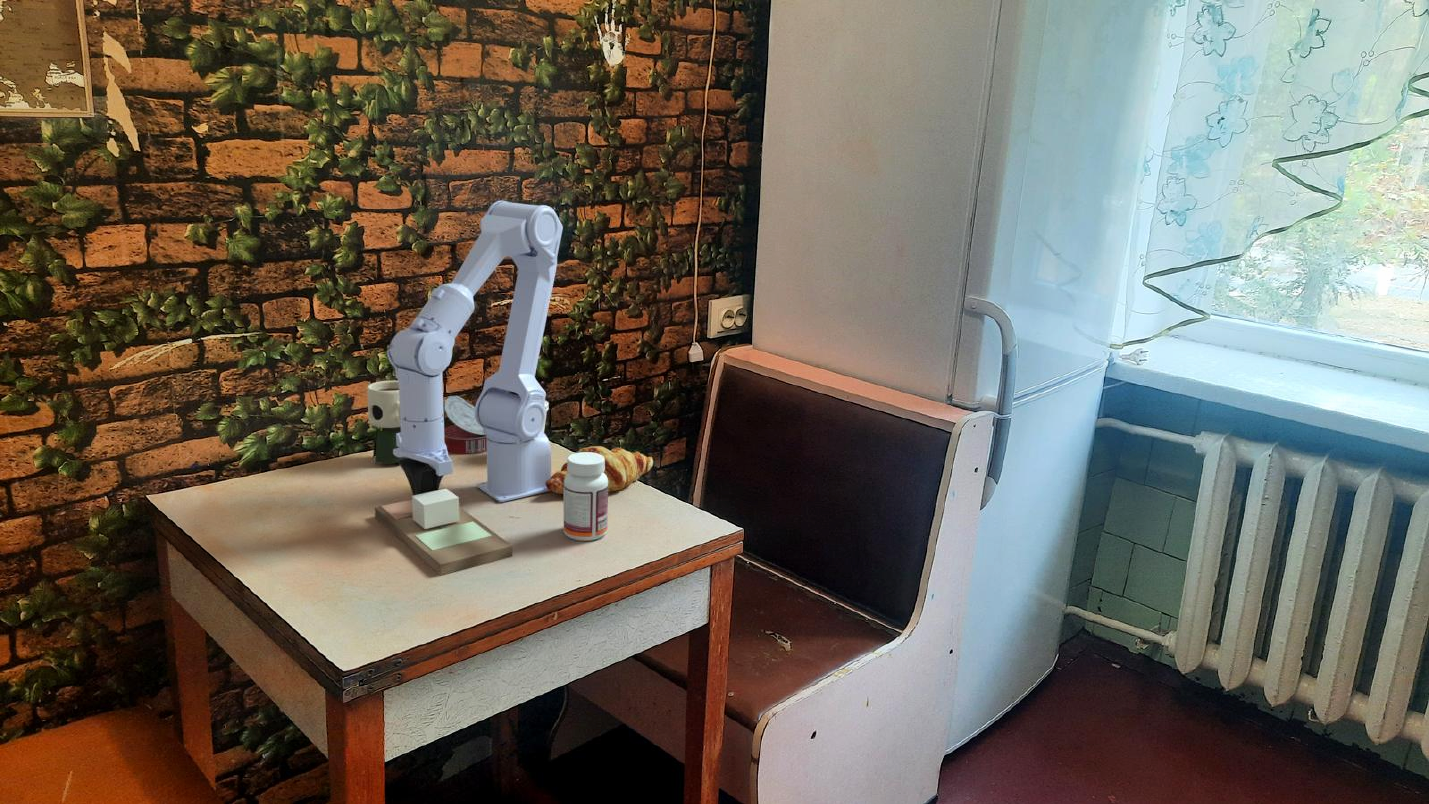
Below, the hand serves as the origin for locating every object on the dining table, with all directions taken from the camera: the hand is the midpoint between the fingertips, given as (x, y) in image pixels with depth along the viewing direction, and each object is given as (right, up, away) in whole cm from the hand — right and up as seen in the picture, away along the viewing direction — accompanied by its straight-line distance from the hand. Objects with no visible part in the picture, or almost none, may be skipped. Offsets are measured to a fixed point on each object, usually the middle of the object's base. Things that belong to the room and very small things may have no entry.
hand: (425, 507), depth 133 cm
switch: (+3, -4, -3) cm, 6 cm away
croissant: (+23, +1, +19) cm, 30 cm away
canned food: (-3, +7, +34) cm, 35 cm away
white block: (+2, -1, -2) cm, 4 cm away
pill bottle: (+22, -4, 0) cm, 23 cm away
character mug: (-13, +5, +24) cm, 28 cm away
